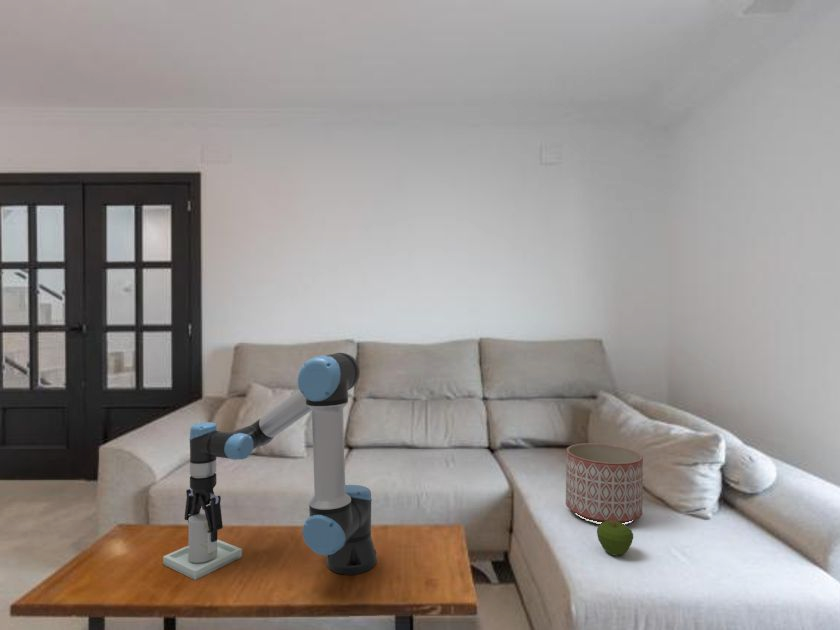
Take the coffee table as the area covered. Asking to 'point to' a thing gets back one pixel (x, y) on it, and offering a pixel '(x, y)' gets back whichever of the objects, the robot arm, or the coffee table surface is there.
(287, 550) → the coffee table surface
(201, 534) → the cup
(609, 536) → the apple
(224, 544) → the tray
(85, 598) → the coffee table surface
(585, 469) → the planter
